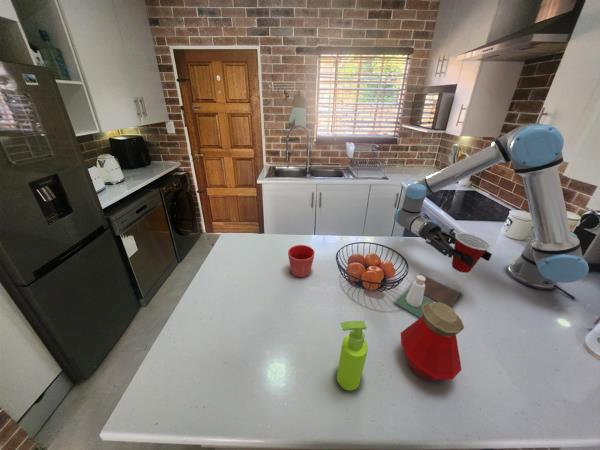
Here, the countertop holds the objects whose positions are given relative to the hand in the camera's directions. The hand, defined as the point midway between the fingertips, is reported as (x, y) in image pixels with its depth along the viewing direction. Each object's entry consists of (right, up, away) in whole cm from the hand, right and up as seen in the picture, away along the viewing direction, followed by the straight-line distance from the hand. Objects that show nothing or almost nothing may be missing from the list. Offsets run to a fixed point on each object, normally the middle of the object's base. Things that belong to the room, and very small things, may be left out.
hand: (481, 260), depth 82 cm
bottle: (-27, -27, -14) cm, 40 cm away
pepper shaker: (-20, -16, +6) cm, 26 cm away
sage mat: (-18, -17, +5) cm, 25 cm away
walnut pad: (-9, -14, +12) cm, 20 cm away
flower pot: (-60, -8, +21) cm, 64 cm away
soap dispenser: (-49, -28, -19) cm, 59 cm away
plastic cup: (-2, -4, +7) cm, 8 cm away
